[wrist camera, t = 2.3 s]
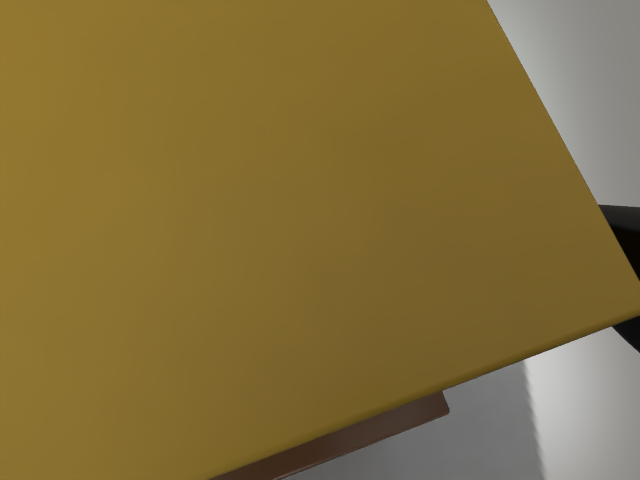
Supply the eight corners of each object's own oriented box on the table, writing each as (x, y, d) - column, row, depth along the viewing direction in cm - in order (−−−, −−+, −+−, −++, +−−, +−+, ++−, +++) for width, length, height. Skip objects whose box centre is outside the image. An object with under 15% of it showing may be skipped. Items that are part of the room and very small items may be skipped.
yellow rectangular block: (307, 166, 15) (367, -226, 6) (401, 406, 13) (658, 308, 4) (101, 225, 14) (-156, -145, 5) (172, 493, 12) (-47, 577, 4)
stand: (389, 427, 20) (451, 412, 13) (177, 510, 18) (128, 538, 12) (316, 236, 22) (338, 139, 15) (120, 297, 20) (52, 219, 14)
